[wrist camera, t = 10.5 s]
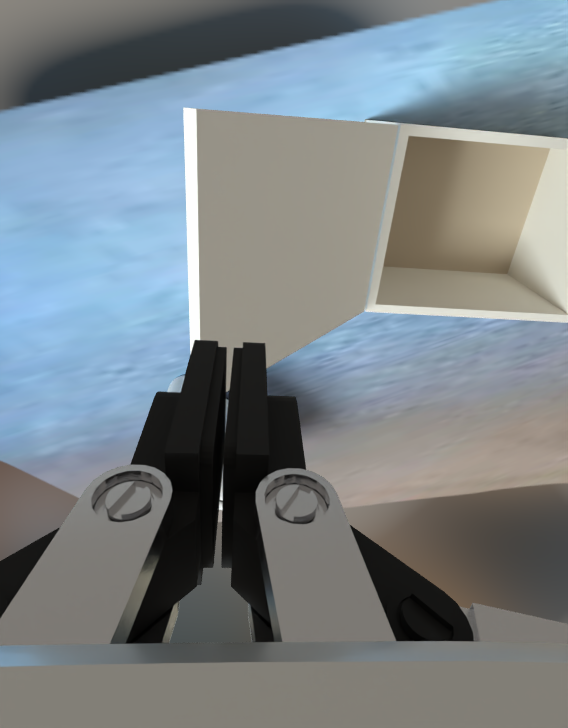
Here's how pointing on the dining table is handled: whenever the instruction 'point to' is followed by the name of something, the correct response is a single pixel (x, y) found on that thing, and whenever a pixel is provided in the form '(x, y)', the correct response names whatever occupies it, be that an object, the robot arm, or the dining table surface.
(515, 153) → the carton
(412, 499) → the dining table surface
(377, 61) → the dining table surface
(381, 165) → the carton lid
